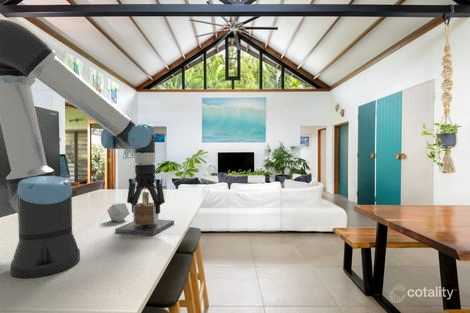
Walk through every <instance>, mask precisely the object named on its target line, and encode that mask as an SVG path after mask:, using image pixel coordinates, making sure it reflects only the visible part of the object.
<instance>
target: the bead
mask: <svg viewBox="0 0 470 313" xmlns="http://www.w3.org/2000/svg"><path fill="white" fill-rule="evenodd" d="M154 205H155V204H154V202H150V201H149V205H145V206H143V202H138V203H137V204H135V205H134V217H133V221H135V224H138V225H147V224H153V206H154Z"/></svg>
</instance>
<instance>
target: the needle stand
mask: <svg viewBox="0 0 470 313" xmlns="http://www.w3.org/2000/svg"><path fill="white" fill-rule="evenodd" d="M149 202H150V192H149V191H146V190H145V191H142V203H143V206H145V205H149ZM158 220H159V221H158V222H156V223H153V224H147V225H138V224H135V222H134V220H133V221H131V222H127V223H126V224H124V225H120V226H119V227H116V228H115V229H114V233H115V234H123V235H124V234H127V235H138V234H141V235H140V236H155V235H156V234H159V233H160V231H161V232H162V231H164V230H166V229H168V228H170V227H171V226H173V225H175V220H173V219H172V220H171V219H158Z"/></svg>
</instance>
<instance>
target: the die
mask: <svg viewBox="0 0 470 313" xmlns="http://www.w3.org/2000/svg"><path fill="white" fill-rule="evenodd" d="M107 213H108V216H109V218H110V220H111V221H112V222H117V223H118V222H119V223H121V222H122V221H123V220H125V219H126V218H127V217H128V216H129V215H130V211H129V208H128V207H127V204H126V202H115V203H113V204H112V205H110V207H109V208H108V209H107Z"/></svg>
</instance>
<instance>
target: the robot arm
mask: <svg viewBox="0 0 470 313" xmlns="http://www.w3.org/2000/svg"><path fill="white" fill-rule="evenodd" d="M56 53H57V52H56V50H54V48H52V47H51V46H49V45H48V44H47V43H45V41H43V39H41V38H40V37H39V36H37V35H36V34H34V33H33V31H31V30H29V29H28V28H26V27H25V26H23V25H22V24H19V23H17V22H15V21H12V20H8V19H1V18H0V126H1V127H0V128H1V132H2V137H3V140H4V145H5V150H6V154H7V158H8V163H9V166H10V172H9V174H8V175H7V176H6V177H5V180H6V184H7V188H8V202H9V206H10V207H11V209H12V210H13V211H14V212H15V213H16V214H17V216H18V217H17V218H18V223H17V224H18V243H17V246H16V249H15V251H14V255H13V258H12V260H11V262H10V265H9V266H10V275H11V276H12V277H15V278H21V279H27V278H28V279H29V278H40V277H44V276H48V275H53V274H56V273H59V272H63V271H65V270H67V269H70V268H72V267H74V266H75V265H77V264H78V263H79V262H80V260H81V250H80V248H79V247H78V243H77V242H76V239H75V235H74V234H73V203H72V202H73V201H72V200H73V196H72V194H73V187H72V182H71V180H70V179H68V178H67V177H64V176H56V173H55V169H53V168H52V167H50V166H49V165H48V163H47V160H46V159H47V158H46V155H45V149H44V145H43V140H42V135H41V130H40V126H39V121H38V117H37V111H36V107H35V102H34V98H33V97H34V96H33V92H32V86H33V85H34V84H35V82H36V79H37V80H38V81H40V82H41V83H42V84H44V85H45V86H47V87H48V88H49V89H51V90H52V91H53V92H55V93H56V94H57V95H58V96H60V97H61V98H63V99H64V100H65V101H67V102H68V103H70V104H71V105H72V106H73V107H75V108H76V109H78V111H80V112H82V114H84V115H85V116H87V117H89V119H91V120H92V121H93V122H95V123H97V124H98V125H99V126H100V127H102V128H103V129H102V130H101V133H100V143H101V146H102V147H103V148H104V149H106V150H107V149H108V150H134V164H135V166H134V171H135V172H134V173H135V177H131V178H129V179H128V191H127V198H126V202H127V204H130V205H131V213H133V214H132V215H133V216H132V217H133V218H134V205H135V204H138V203H139V199H140V197H141V194H142V192H143V189H144V188H145V189H147V190H148V193H149V195H150V197H151V199H152V201H153V202H152V203H154V204H155V205H154V206H153V223H156V222H158V221H159V220H160V219H159V214H160V213H161V205H163V204H165V202H166V200H165V194H164V190H163V189H164V188H163V185H162V184H163V178H157V177H156V175H155V174H156V165H155V163H156V147H155V146H156V144H155V143H156V141H155V140H156V139H155V138H156V132H155V127H154V125H152V124H144V123H143V124H137V123H136V122H135V121H134V120H133V119H131V118H130V117H129V116H127V115H126V114H125V113H124V112H123V111H121V110H120V108H118V107H117V106H115V105H114V104H113V103H112V102H111V101H109V100H108V99H107V98H106V97H105V96H103V95H102V94H101V93H100V92H99V91H97V90H96V89H95V88H94V87H93V86H91V85H90V83H88V82H87V81H85V80H84V79H83V78H82V77H81V76H79V74H77V73H76V72H75V71H73V69H71V68H70V67H69V66H68V65H66V64H65V63H64V62H62V61H61V60H60V59H59V58H58V57H57V54H56ZM136 183H137V184H136ZM154 183H155V184H154ZM133 221H134V220H133ZM134 222H135V221H134Z"/></svg>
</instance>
